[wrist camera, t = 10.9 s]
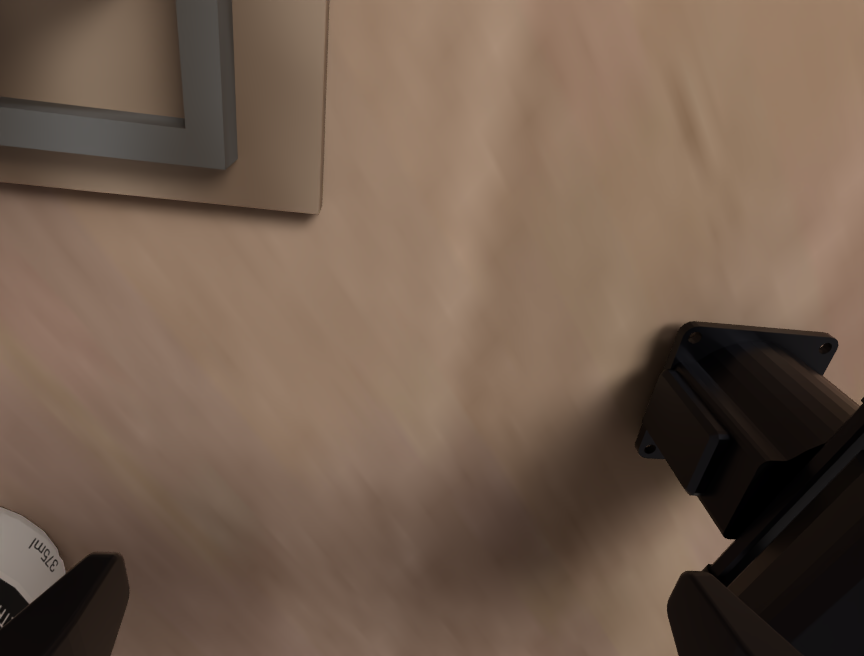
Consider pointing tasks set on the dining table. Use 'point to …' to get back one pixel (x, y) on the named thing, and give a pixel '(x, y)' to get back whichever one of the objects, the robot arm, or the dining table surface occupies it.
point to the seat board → (167, 99)
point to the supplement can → (24, 564)
